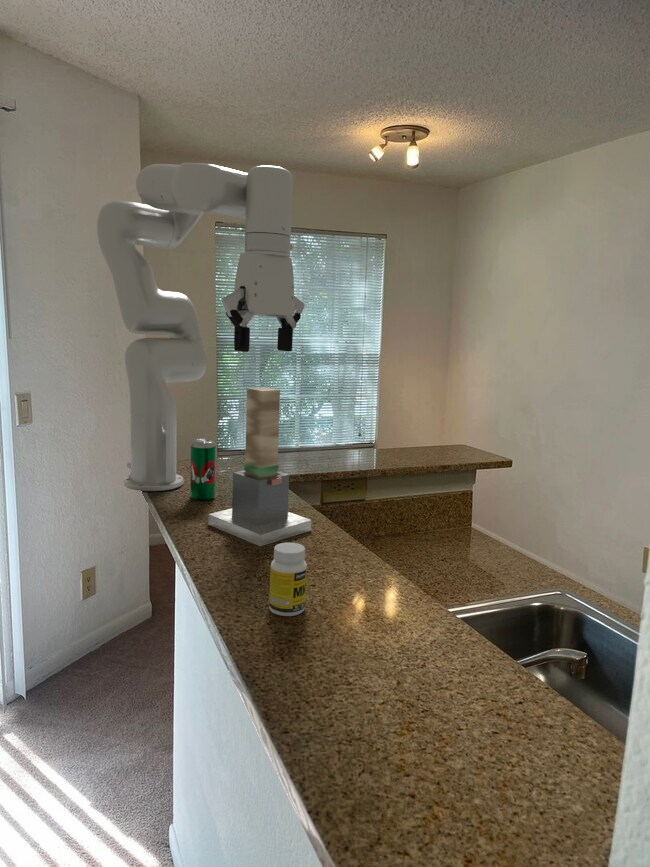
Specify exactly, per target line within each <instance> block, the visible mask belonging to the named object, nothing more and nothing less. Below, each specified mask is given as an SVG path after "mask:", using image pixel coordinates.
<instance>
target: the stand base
mask: <svg viewBox="0 0 650 867" xmlns="http://www.w3.org/2000/svg"><path fill="white" fill-rule="evenodd" d="M289 486H290V474H288V473H285V472H282V471H279V470H278V472H277V475H275V476H270V477H265V478H261V479H259V478H256V477H253V476H250V475H246V474H245V470H238V471H235V472H232V493H231V494H232V502H231V505H232V506H231V508H228V509H224V510H219V511H216V512H212V513H209V514H208V526H210V527H213V528H215V529H218V530H220V531H223V532H225V533H227V534H229V535H232V536H235V537H237V538H240V539H242V540H244V541H246V542H249V543H251V544H253V545H256V546H258V547H263V546H266V545H269V544H273V543H275V542H280V541H282V540H286V539H288V538H292V537H294V536H297V535H301V534H304V533H309V532H311V531H312V519H310V518H307V517H304V516H301V515H298V514H295V513H292V512H290V511H289V492H290V491H289V489H290V487H289Z"/></svg>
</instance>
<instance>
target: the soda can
mask: <svg viewBox="0 0 650 867" xmlns="http://www.w3.org/2000/svg"><path fill="white" fill-rule="evenodd" d="M216 476H217V445H216V443H215V440H214V439H212V438H211V439H209V438H196V439H193V440H192V443H191V445H190V476H189V477H190V478H189V480H190V481H189V482H190V484H189V485H190V486H189V487H190V489H189V491H190V492H189V494H190V495H189V497H190V498H192V500H194V501H197V500H198V502H208V501H212V500H213V499H214V498H215V497H216V490H217V489H216V486H217V485H216V478H217V477H216Z"/></svg>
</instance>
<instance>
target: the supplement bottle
mask: <svg viewBox="0 0 650 867" xmlns="http://www.w3.org/2000/svg"><path fill="white" fill-rule="evenodd" d="M305 559H306V547H305V546H304V545H303V544H300V543H297V542H281V543H278V544H276V545H275V546H274V548H273V560H272V561H271V564H270V567H269V568H270V574H269V596H268V597H269V598H268V609H269V610H270V612H272V613H273V614H275V615H278V616H283V617H295V616H297V615H300V614H302V613H303V612H305V609H306V595H307V578H308V577H307V575H308V574H307V572H308V564H307V562H306V560H305Z"/></svg>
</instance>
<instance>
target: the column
mask: <svg viewBox="0 0 650 867" xmlns="http://www.w3.org/2000/svg"><path fill="white" fill-rule="evenodd" d="M280 398H281V389H277V388H273V387H266V386H264V387H263V386H260V387H248V388H246V414H245V415H246V421H245V422H246V423H245V425H246V426H245V457H244V458H245V461H244V462H245V463H244V467H243V469H244V470H245V474H246V475H250V476H253V477H256V478H259V479H261V478H265V477H270V476H275V475H277V472H278V471H279V464H278V463H279V462H278V461H279V460H278V459H279V457H278V456H279V434H280V433H279V431H280V430H279V428H280V408H281V406H280V405H281V404H280V403H281V402H280V401H281V399H280ZM244 470H243V471H244Z"/></svg>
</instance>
